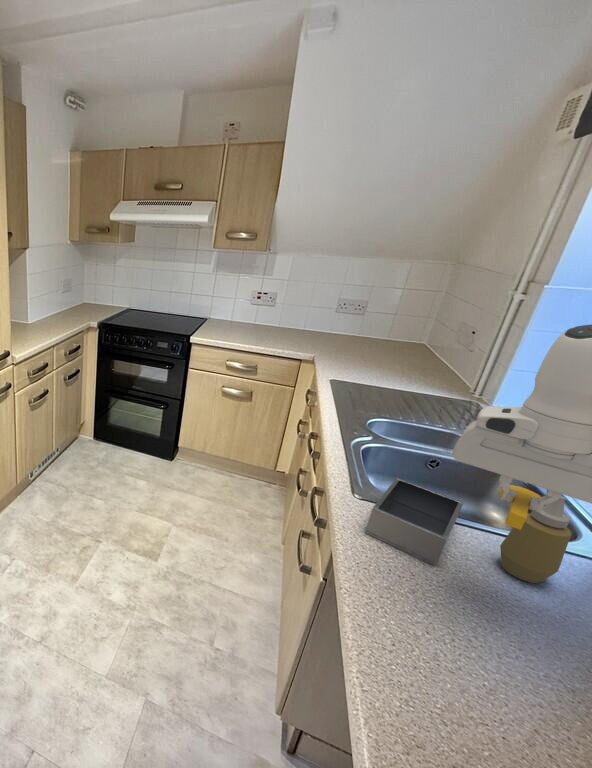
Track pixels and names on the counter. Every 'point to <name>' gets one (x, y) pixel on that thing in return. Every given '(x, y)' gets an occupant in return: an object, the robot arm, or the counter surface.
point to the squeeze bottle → (537, 544)
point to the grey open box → (414, 520)
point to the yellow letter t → (519, 506)
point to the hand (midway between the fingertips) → (519, 504)
